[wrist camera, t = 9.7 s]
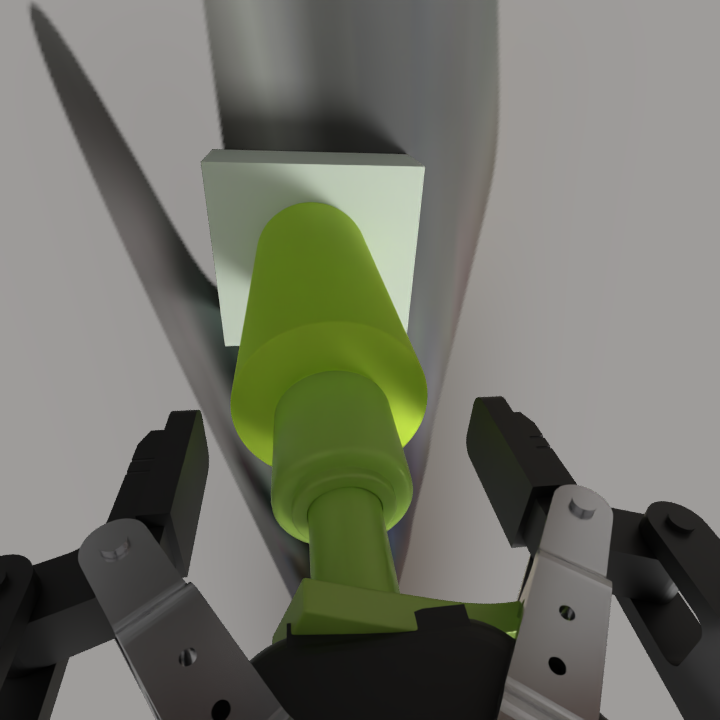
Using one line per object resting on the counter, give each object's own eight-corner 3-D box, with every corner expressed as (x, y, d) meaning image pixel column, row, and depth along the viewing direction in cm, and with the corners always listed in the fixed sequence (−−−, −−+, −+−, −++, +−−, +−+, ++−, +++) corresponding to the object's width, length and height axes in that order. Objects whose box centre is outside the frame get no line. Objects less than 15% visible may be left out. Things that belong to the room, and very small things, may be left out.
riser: (212, 149, 25) (200, 161, 21) (407, 154, 26) (425, 166, 23) (232, 315, 30) (225, 346, 27) (393, 311, 32) (405, 340, 28)
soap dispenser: (360, 324, 27) (476, 733, 10) (244, 290, 25) (155, 733, 8) (400, 231, 24) (644, 581, 8) (274, 184, 22) (234, 525, 6)
